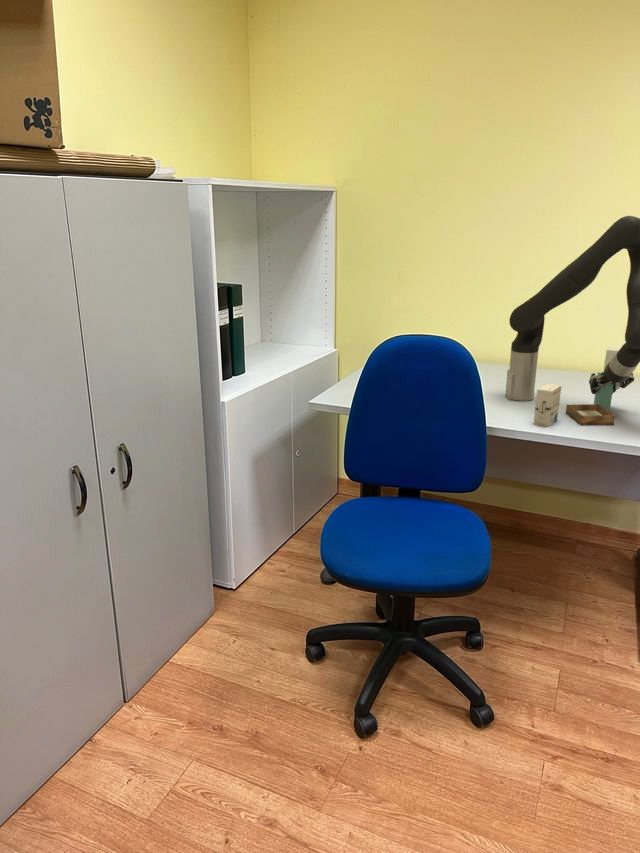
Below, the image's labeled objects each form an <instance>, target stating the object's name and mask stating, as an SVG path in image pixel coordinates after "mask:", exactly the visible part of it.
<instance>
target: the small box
mask: <svg viewBox="0 0 640 853" xmlns="http://www.w3.org/2000/svg"><path fill="white" fill-rule="evenodd" d="M621 347H622V346H608V345H607V346H606V352H605V358H604V363H603V364H604V366H603V371H602V372H604V370H605V367H606V366H607V364H608V363H609V362H610V360H611V359H612V358H613V356H614V355H615V354H616V353H617V352H618V351H619V350H620V348H621Z"/></svg>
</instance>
